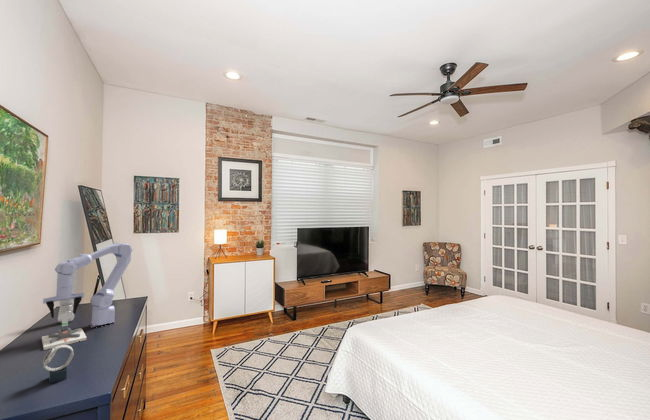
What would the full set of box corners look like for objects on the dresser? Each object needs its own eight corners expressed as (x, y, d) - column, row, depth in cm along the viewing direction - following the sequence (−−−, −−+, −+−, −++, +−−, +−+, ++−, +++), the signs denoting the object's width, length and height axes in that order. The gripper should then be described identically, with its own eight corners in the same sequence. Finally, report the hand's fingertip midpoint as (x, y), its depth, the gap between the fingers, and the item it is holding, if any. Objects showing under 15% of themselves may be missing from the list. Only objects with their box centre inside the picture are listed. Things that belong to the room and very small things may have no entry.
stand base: (81, 330, 139) (81, 321, 140) (86, 339, 129) (87, 330, 129) (41, 339, 129) (42, 329, 129) (43, 350, 118) (44, 339, 118)
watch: (41, 379, 97) (42, 347, 97) (72, 370, 102) (73, 340, 103) (40, 386, 93) (42, 353, 93) (73, 377, 98) (74, 345, 99)
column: (70, 323, 132) (71, 310, 132) (71, 325, 129) (72, 312, 130) (57, 325, 129) (58, 312, 129) (58, 328, 126) (59, 314, 126)
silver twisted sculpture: (77, 320, 153) (78, 284, 153) (62, 325, 146) (63, 286, 147) (69, 319, 155) (71, 283, 156) (54, 323, 148) (56, 285, 149)
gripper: (83, 283, 142) (82, 309, 142) (43, 288, 132) (41, 317, 131) (85, 285, 138) (84, 312, 137) (44, 290, 127) (42, 320, 126)
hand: (63, 315), depth 134 cm, fingers open, 7 cm apart
